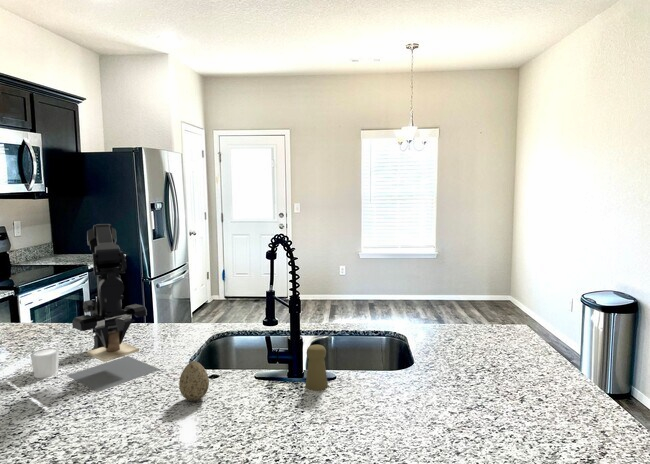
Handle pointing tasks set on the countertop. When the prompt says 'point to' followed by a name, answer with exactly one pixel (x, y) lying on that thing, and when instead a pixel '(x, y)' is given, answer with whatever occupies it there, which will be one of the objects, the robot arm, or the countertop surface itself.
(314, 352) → the cork
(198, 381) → the decorative egg
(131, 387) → the countertop surface
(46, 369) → the white round cup
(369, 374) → the countertop surface
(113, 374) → the mat
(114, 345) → the lid
